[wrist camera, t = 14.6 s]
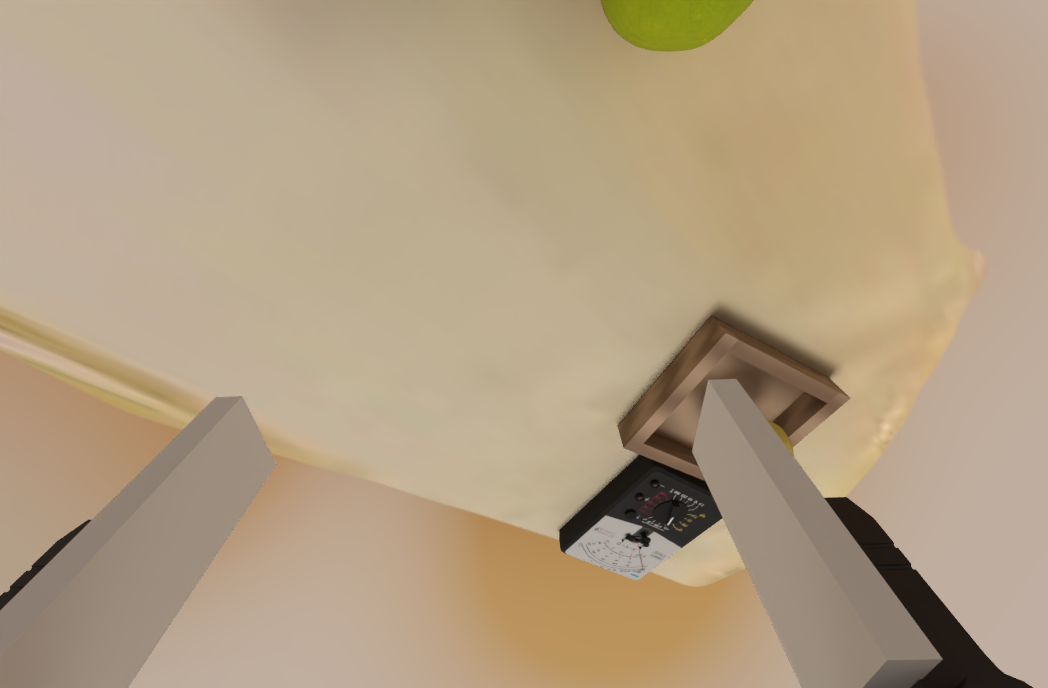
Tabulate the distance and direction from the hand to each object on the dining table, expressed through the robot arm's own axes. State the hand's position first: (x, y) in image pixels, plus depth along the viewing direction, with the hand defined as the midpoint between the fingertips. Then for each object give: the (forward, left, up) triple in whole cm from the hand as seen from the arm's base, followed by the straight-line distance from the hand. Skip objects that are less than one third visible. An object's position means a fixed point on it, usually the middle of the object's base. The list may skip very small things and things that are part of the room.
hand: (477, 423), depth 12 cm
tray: (+8, +30, -27) cm, 41 cm away
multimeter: (+27, +33, -27) cm, 51 cm away
